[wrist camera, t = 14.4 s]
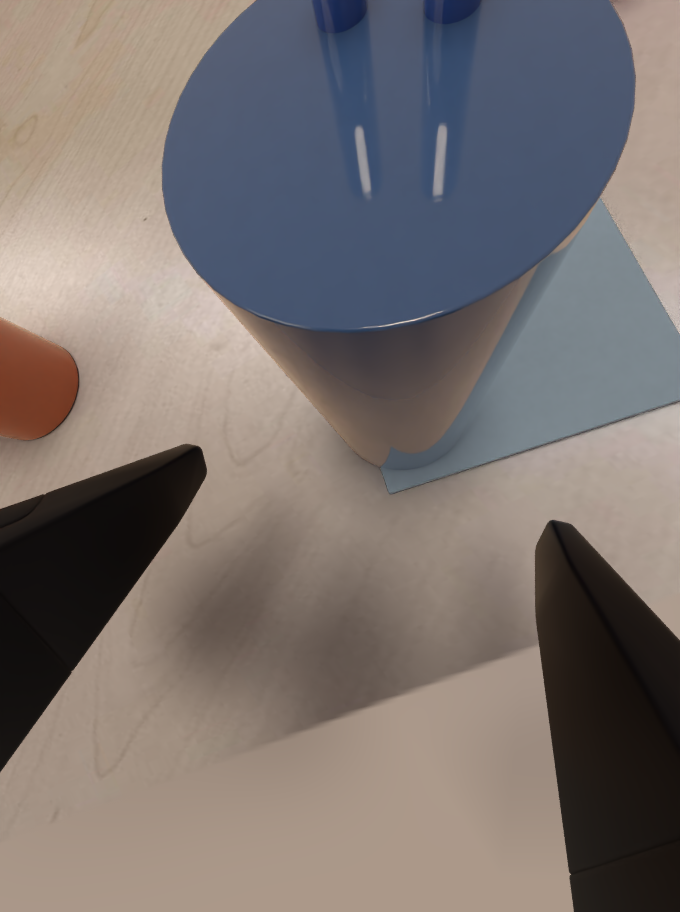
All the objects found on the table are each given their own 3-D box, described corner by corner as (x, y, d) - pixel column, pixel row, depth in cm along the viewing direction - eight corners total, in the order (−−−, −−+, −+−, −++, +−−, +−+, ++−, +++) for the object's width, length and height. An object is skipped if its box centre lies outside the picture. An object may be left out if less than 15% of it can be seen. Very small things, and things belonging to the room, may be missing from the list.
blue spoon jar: (457, 482, 16) (1274, -193, 1) (323, 456, 18) (-293, 27, 2) (481, 350, 17) (1129, -1261, 2) (351, 335, 19) (35, -592, 3)
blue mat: (700, 394, 16) (712, 389, 15) (389, 494, 17) (389, 493, 17) (531, 95, 20) (534, 82, 19) (292, 203, 21) (289, 194, 21)
